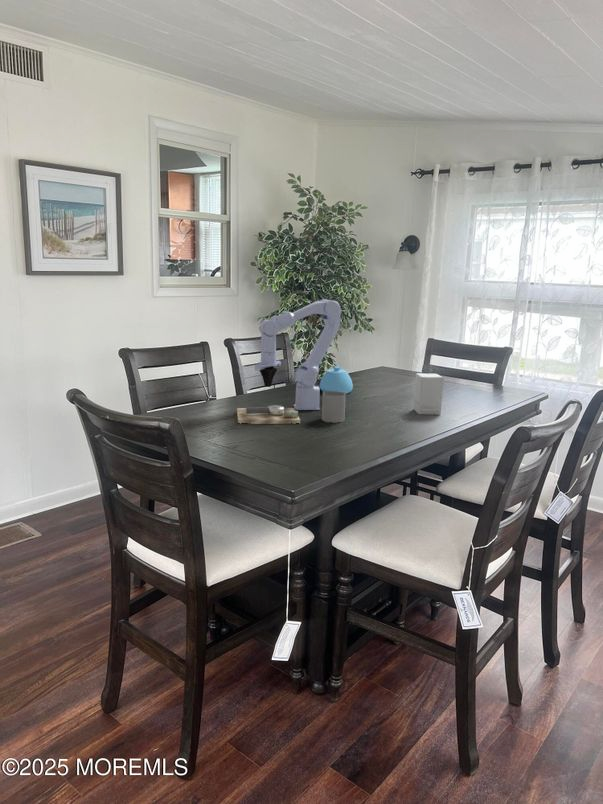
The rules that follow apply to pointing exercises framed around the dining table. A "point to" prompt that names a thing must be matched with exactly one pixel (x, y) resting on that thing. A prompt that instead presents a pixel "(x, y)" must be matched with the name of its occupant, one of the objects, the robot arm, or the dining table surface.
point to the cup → (333, 406)
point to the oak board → (268, 417)
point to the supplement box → (428, 393)
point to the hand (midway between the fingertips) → (267, 386)
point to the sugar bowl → (336, 381)
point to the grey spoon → (266, 410)
